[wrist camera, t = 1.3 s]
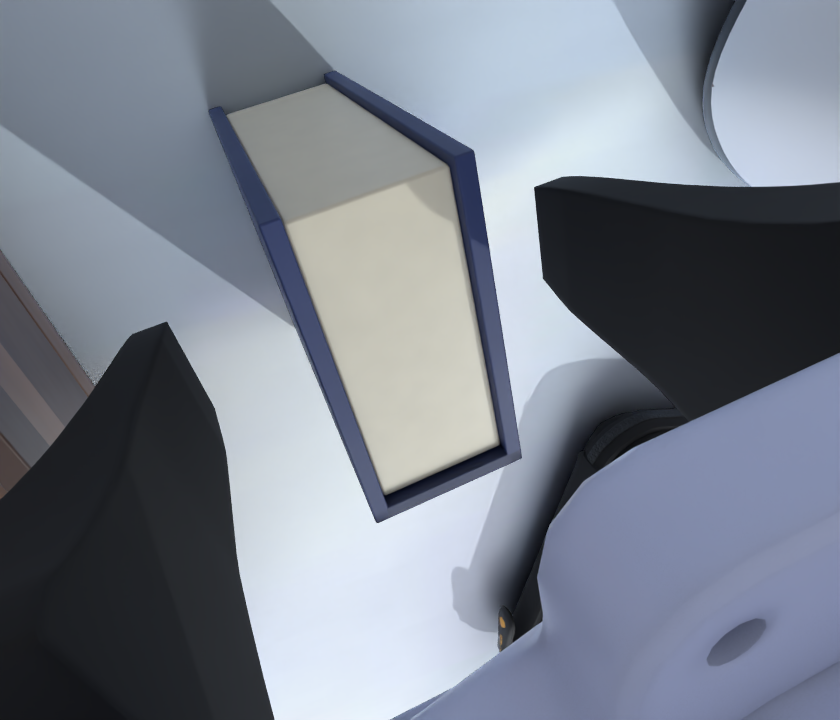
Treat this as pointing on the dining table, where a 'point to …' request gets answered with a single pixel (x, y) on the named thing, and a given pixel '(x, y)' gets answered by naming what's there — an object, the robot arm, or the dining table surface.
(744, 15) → the spread jar
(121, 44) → the dining table surface
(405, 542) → the dining table surface
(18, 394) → the shelf
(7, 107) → the dining table surface
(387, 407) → the book
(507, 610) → the carrying case
